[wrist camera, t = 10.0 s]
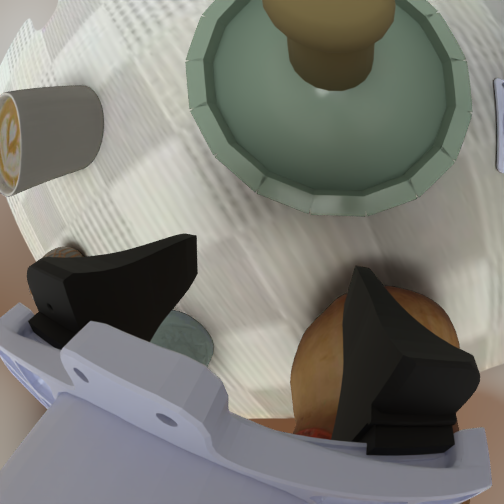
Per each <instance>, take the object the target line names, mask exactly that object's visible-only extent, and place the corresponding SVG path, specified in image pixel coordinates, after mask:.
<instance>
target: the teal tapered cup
mask: <svg viewBox="0 0 504 504" xmlns="http://www.w3.org/2000/svg"><path fill="white" fill-rule="evenodd" d="M150 342H151V343H153V344H156V345H158V346H161V347H164V348H166V349H169V350H172V351H175V352H178V353H181V354H183V355H186V356H188V357H190V358H192V359H194V360H196V361H198V362H200V363H202V364H204V365H205V366H208V364H209V362H210V360H211V357H212V355H213V349H214V348H213V342H212V339H211V337H210V335H209V334H208V332H207V331H206V329H205V328H204V327H203V326H202V325H201V324H200V323H199V322H197V321H196V320H195V319H193V318H192V317H190V316H188V315H186V314H184V313H182V312H179V311H174V310H172V311H171V312H170V313H169V314H168V316H167V317H166V318H165V319H164V321H163V322H162V323H161V325H160V326H159V328H158V329H157V331H156V333H155V334H154V336H153V338H152V339H151V341H150Z"/></svg>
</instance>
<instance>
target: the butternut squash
mask: <svg viewBox="0 0 504 504" xmlns="http://www.w3.org/2000/svg"><path fill="white" fill-rule="evenodd" d="M384 287H385V288H386V289H387V291H388V292H389V293H390V294H391V295H392V296H393V297H394V299H395V300H396V301H397V302H398V303H399V304H400V305H401V306H402V307H403V308H404V309H405V310H406V311H407V312H408V313H409V314H410V315H411V316H412V317H414V318H415V319H416V320H417V321H418V322H419V323H421V324H422V325H423V326H424V327H426V328H427V329H428V330H430V331H431V332H432V333H434V334H435V335H437V336H438V337H440V338H441V339H443V340H445V341H446V342H448V343H450V344H451V345H453V346H455V347H457V348H459V349H460V347H459V341H458V338H457V334H456V331H455V329H454V326H453V324H452V322H451V320H450V318H449V316H448V315H447V313H446V312H445V311H444V309H443V308H442V307H441V306H439V305H438V304H437V303H436V302H434V301H433V300H431V299H430V298H428V297H426V296H424V295H422V294H419V293H416V292H413V291H411V290H406V289H402V288H397V287H393V286H384ZM346 297H347V293H346V294H344V295H342V296H341V297H339V298H337V299H336V300H335V301H334V302H333V303H332V304H331V305H330V306H329V307H328V308H327V309H326V310H325V311H324V312H323V313H322V314H321V315H320V316H319V317H318V318H316V320H315V321H314V322H313V323H312V324H311V325H310V326H309V327H308V328H307V330H306V331H305V333H304V334H303V336H302V339H301V341H300V343H299V346H298V349H297V352H296V355H295V358H294V362H293V365H292V370H291V380H290V384H291V392H292V401H293V411H294V416H295V421H296V427H295V430H294V432H293V434H296V435H301V436H307V437H314V438H321V439H328V440H331V437H332V433H333V429H334V424H335V419H336V414H337V409H338V404H339V398H340V391H341V384H342V376H343V328H342V322H343V310H344V303H345V300H346ZM452 426H453V433H455V432H457V431H459V427H458V423H457V422H456V424H455V425H452ZM469 503H470V499H468V500H466V501H464V502H462V503H460V504H469Z"/></svg>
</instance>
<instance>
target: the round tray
mask: <svg viewBox="0 0 504 504" xmlns="http://www.w3.org/2000/svg"><path fill="white" fill-rule="evenodd" d="M395 4H396V8H395V15H394V22H393V23H392V25H391V26H390V28H389V29H388V30H387V32H386V33H385V35H384V36H383V38H382V39H380V40H379V41H377V42H376V43H375V45H374V61H373V65H372V70H371V72H370V74H369V75H368V76H367V78H366V79H365V81H363V82H362V83H360V84H359V85H358V86H356V87H355V88H351V89H348V90H344V91H327V90H323V89H320V88H316V87H314V86H312V85H311V84H309V83H307V82H305V81H304V80H303V79H302V78H301V77H300V76H299V75H298V74H297V73H296V72H295V71H294V69H293V67H292V65H291V63H290V61H289V54H288V45H287V36H286V35H284V34H283V33H282V32H281V31H280V30H279V29H277V28H276V27H275V26H274V24H273V23H272V21H271V20H270V18H269V16H268V15H267V13H266V11H265V10H264V8H263V3H262V0H215V1H214V2H213V3H212V4H211V5H210V6H209V8H208V9H207V10H206V11H205V12H204V13H203V14H202V15H203V16H205V17H202V16H201V18H200V20H199V23H198V26H197V28H196V31H195V34H194V37H193V40H192V42H191V45H190V48H189V51H188V54H187V57H186V60H188V61H187V62H185V63H186V76H187V87H188V98H189V109H192V110H191V111H190V112H191V114H192V115H193V117H194V119H195V121H196V123H197V125H198V127H199V129H200V131H201V132H202V134H203V136H204V138H205V140H206V142H207V144H208V146H209V148H210V150H211V152H212V153H213V155H216V154H217V155H216V156H215V158H217V159H218V160H219V161H220V162H221V163H222V164H223V165H225V166H226V167H227V168H228V169H229V170H230V171H231V172H233V173H234V174H235V175H236V176H237V177H238V178H239V179H241V180H242V181H243V182H244V183H245V184H246V185H247V186H248V187H249V188H251V189H252V190H253V191H254V192H256V191H257V190H258V192H257V194H259V195H262V196H264V197H267V198H269V199H272V200H275V201H277V202H280V203H282V204H285V205H287V206H290V207H292V208H294V209H297V210H299V211H302V212H304V213H307V214H309V211H310V209H311V215H336V216H361V217H365V214H366V213H367V216H370V215H373V214H376V213H378V212H381V211H384V210H387V209H390V208H392V207H395V206H398V205H401V204H404V203H406V202H409V201H412V200H415V199H417V197H416V195H417V196H418V197H420V196H421V195H422V194H423V193H424V192H425V191H426V190H427V189H428V188H429V187H430V186H432V185H433V184H434V183H435V182H436V181H437V180H438V179H439V178H440V177H441V176H442V175H443V174H444V173H445V172H446V171H447V170H448V169H449V168H450V167H451V166H452V165H453V164H454V161H453V160H455V161H456V159H457V156H458V154H459V151H460V149H461V146H462V143H463V140H464V138H465V135H466V132H467V129H468V126H469V123H470V119H471V116H472V114H471V113H470V112H472V100H471V89H470V80H469V73H468V66H467V61H463V60H465V59H466V58H465V56H464V54H463V52H462V50H461V49H460V47H459V45H458V43H457V41H456V39H455V38H454V36H453V34H452V32H451V31H450V29H449V27H448V26H447V24H446V22H445V21H444V19H443V18H442V16H441V14H440V13H436V12H437V10H436V9H435V8H434V7H433V6H432V5H431V4H429V3H428V2H427V1H426V0H395Z"/></svg>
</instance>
